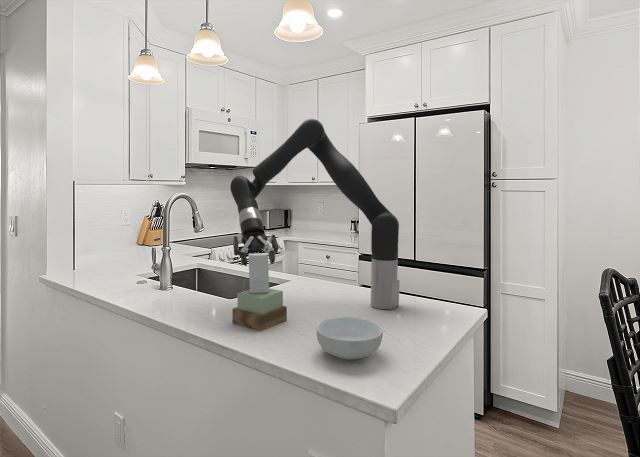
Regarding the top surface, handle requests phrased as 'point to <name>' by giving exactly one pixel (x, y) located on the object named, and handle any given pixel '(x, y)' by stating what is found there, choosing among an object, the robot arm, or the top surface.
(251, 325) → the tower base
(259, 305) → the tower top
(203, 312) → the top surface
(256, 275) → the skincare box
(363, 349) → the cereal bowl
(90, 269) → the top surface
